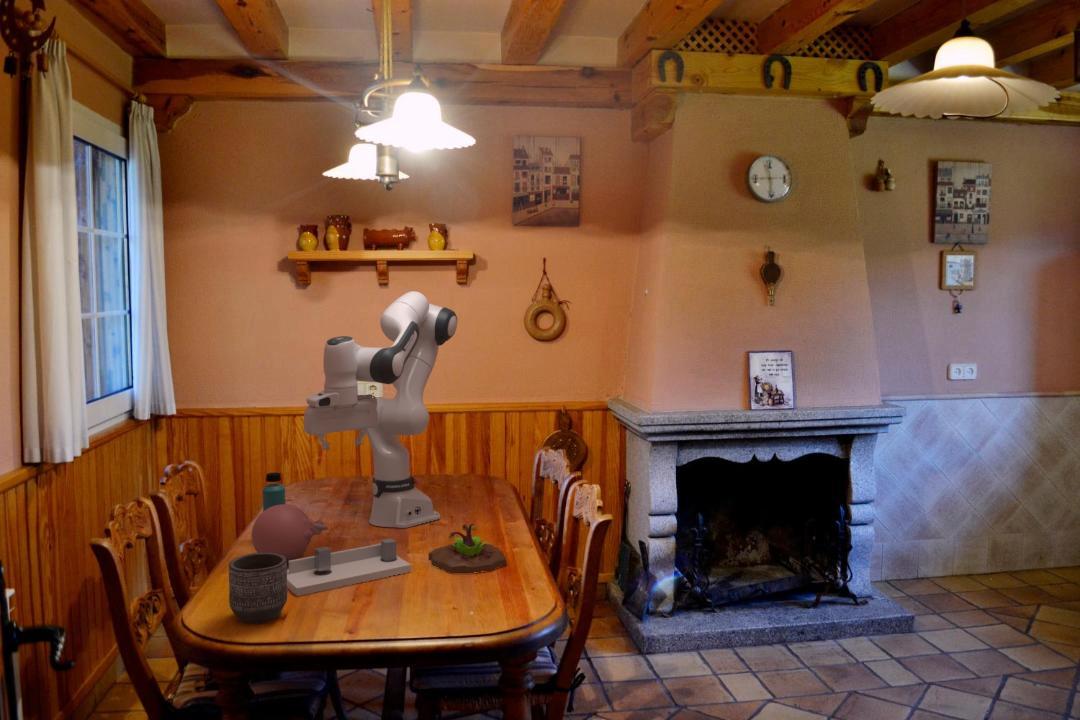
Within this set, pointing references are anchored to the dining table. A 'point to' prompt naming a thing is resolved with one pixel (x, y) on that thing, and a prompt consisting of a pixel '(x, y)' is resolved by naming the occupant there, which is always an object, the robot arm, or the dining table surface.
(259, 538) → the balloon
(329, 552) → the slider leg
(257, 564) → the planter
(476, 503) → the dining table surface
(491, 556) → the plant
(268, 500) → the beverage bottle
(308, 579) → the grey peg board
